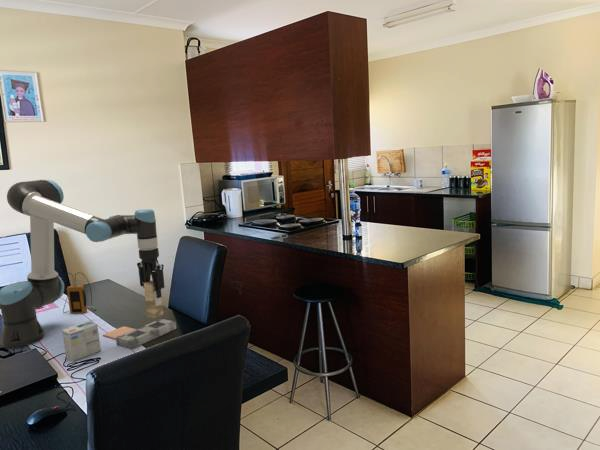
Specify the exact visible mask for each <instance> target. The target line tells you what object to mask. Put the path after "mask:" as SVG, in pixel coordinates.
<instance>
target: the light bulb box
mask: <svg viewBox="0 0 600 450" xmlns="http://www.w3.org/2000/svg"><path fill="white" fill-rule="evenodd" d="M61 333H62V338H63V345H64V352H65V356H66V357H65V358H67V359H68V360H71V361H72V362H74V361H77V360H80V359H83V358H84V357H85V358H86V357H88V356H90V355H92V354H96V353H98V352H100V351H101V350H102V349H101V348H102V347H101V341H100V334H99V326H98V323H95V322H94V321H90V320H88V321H86V322H82V323H80V324H79V323H78V324H76V325H74V326H70V327H67V328H63V329H61Z"/></svg>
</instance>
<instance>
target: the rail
mask: <svg viewBox="0 0 600 450" xmlns="http://www.w3.org/2000/svg"><path fill="white" fill-rule="evenodd" d="M134 329H135V330H133V331H130V332H128V333H125V334H123V335H121V336H118V337H116V340H115V341H116V345H117V346H120V347H123V348H127V349H131V350H132V349H135V348H137V347H140V346H142V345H143V344H146V343H149V342H150V341H153V340H155V339H157V338H160V337H161V336H163V335H165V334H168V333H171V332H173V331H175V330H176V329H177V322H176V321H173V320H169V319H164V318H159V319H157V320H155V321H152V322H150V323H147V324H145V325H143V326H141V327H137V328H134Z"/></svg>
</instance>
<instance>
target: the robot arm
mask: <svg viewBox="0 0 600 450" xmlns="http://www.w3.org/2000/svg"><path fill="white" fill-rule="evenodd" d="M64 198H65V197H64V192H63V188H62V187H61V186H60V185H59V184H58V183H57V182H56V181H54V180H50V179H38V180H37V179H36V180H28V181H27V180H26V181H19V182H16V183H14V184H12V185H11V186H10V187H9V189H8V191H7V193H6V200H7V203H8V205H9V206H10V208H11V209H13V211H16V213H17V212H18V213H19V214H22V215H25V216H28V217H29V220H30V223H29V226H30V228H29V229H30V262H31V263H30V267H31V268H30V269H31V271H30V272H28V274H27V276H26V278H27V280H23V281H16V282H13V283H10V284H8V285H7V284H6V285H5V286H4V287H2V288H0V311H1V312H0V313H1V318H2V323H3V328H2V333H1V338H0V344H1V345H0V346H1V347H2V348H5V349H16V348H22V347H27V346H30V345H32V344H35V343H37V342H39V341H41V340H43V339H44V338H45V331H44V329H43V327H42V325H41V324H40V322H39V320H38V318H37V317H38V316H37V310H38V309H42V308H43V307H45V306H47V305H51V304H53V303H55V302H56V301H58V300H60V299H61V298H62V296H63V294H64V292H65V281H64V280H63V279H62V277H60V275H59V272H57V271H56V270H55V227H54V225H55V224H57V225H59V226H63V227H65V228H68V229H70V230H73V231H76V232H79V233H81V234H83V235H86V237H87V238H88V239H89V241H91V242H93V243H100V242H105V241H108V240H111V239H113V238H116V237H119V236H120V237H121V236H123V235H132V234H133V235H136V237H137V238H136V239H137V248H138V249H139V250H138V257H139V259H140V260H141V261H139V262H137V263H136V266H137V268H138V276H139V285H140V287H142V288H143V289H144V283H145V282H148V281H152V280H153V284H154V288H155V289H154V300H155V306H159V305H161V304H162V305H163V302H162V303H161V296H162V289H164V288H165V277H164V264H160V263H159V259H158V258H160V257H159V256H160V252H159V250H160V249H159V248H158V246H159V243H158V233H157V218H156V216H155V211H154V210H153V209H151V208H150V209H149V208H146V209H138V210H135V211H134V215H133V214H132V215H131V214H130V215H129V214H124V215H123V214H122V215H121V214H117V215H111V216H109V217H108V218H101V217H98V216H95V215H92V214H90V213H87V212H84V211H81V210H78V209H77V208H73V207H71V206H68V205H65V204H63V202H64ZM54 223H55V224H54ZM151 279H152V280H151ZM157 286H158V287H157Z"/></svg>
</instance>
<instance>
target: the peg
mask: <svg viewBox="0 0 600 450" xmlns="http://www.w3.org/2000/svg"><path fill="white" fill-rule="evenodd" d="M157 287H158V286H157ZM143 289H144V290H143V291H144V298H145V299H144V300H145V308H146V316H147V317H148V318H153V319H155V318H158V317H160V316H163V315H164V308H163V298H162V295H161V303H162V304H161V305H159V306H155V300H154V289H155V288H154V284H153V280H150V281H148V282H145V283H144V288H143Z"/></svg>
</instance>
